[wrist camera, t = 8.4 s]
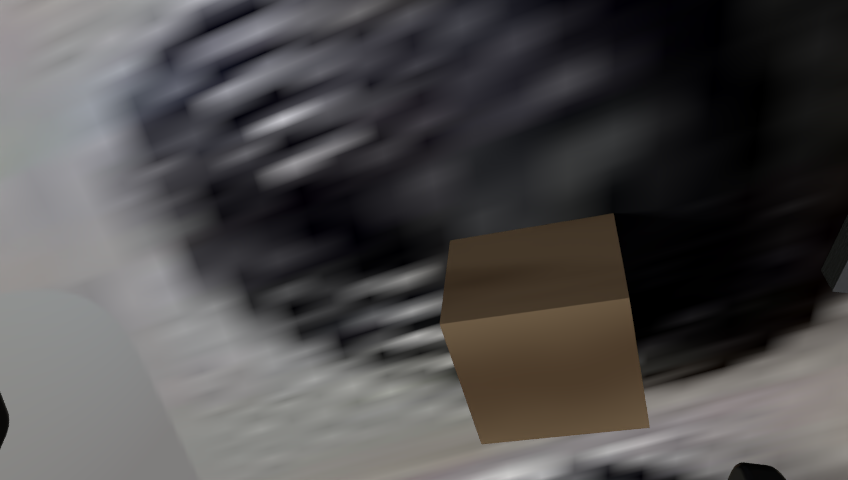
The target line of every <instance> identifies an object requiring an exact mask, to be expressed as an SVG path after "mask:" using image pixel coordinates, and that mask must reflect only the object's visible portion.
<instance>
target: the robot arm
mask: <svg viewBox="0 0 848 480" xmlns="http://www.w3.org/2000/svg"><path fill="white" fill-rule="evenodd" d="M8 427H9V414H8V411H7V408H6V406H5V403H4V400H3V398H2V395H1V393H0V448H1V446H2V444H3V441H4V439H5V437H6V434H7V431H8ZM728 480H786V479H785V478H784V476H783V475H782V474H781V473H780V472H779V471H778V470H776V469H775V468H773V467H771V466H768V465H760V464H752V463H739V464H737V465H736V466H735V467H734V468H733V470H732V472H731V474H730V476H729V478H728Z"/></svg>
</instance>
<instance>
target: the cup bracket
mask: <svg viewBox="0 0 848 480" xmlns="http://www.w3.org/2000/svg"><path fill="white" fill-rule="evenodd" d="M821 271H822V273H823V275H824V276H825V278H826V280H827V282H828V284H829V286H830V288H831V290H832V291H834V292H843V293H848V215H847V217H846V220H845V222H844V224H843V226H842V228H841V230H840V232H839V234H838V236H837V238H836V240H835V242H834V244H833V246H832V249H831V251H830V253H829V255H828V257H827V259H826V261H825V263H824V265H823V267H822V269H821Z"/></svg>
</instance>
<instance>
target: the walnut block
mask: <svg viewBox="0 0 848 480" xmlns="http://www.w3.org/2000/svg"><path fill="white" fill-rule="evenodd" d="M440 326H441V329H442V332H443V335H444V338H445V341H446V343H447V346H448V349H449V352H450V355H451V358H452V361H453V364H454V366H455V369H456V372H457V375H458V378H459V381H460V384H461V387H462V389H463V392H464V395H465V398H466V401H467V404H468V407H469V410H470V412H471V415H472V418H473V421H474V424H475V427H476V430H477V433H478V435H479V438H480V441H481V444H489V443H499V442H509V441H519V440H529V439H539V438H550V437H560V436H570V435H580V434H590V433H600V432H610V431H621V430H631V429H641V428H650V427H649V420H648V414H647V407H646V401H645V395H644V388H643V382H642V376H641V369H640V363H639V357H638V350H637V344H636V337H635V331H634V325H633V318H632V312H631V306H630V299H629V294H628V288H627V283H626V277H625V272H624V267H623V261H622V256H621V250H620V245H619V240H618V234H617V229H616V223H615V218H614V213H613V214H607V215H601V216H595V217H589V218H583V219H577V220H571V221H565V222H559V223H553V224H547V225H541V226H535V227H529V228H523V229H517V230H511V231H505V232H499V233H493V234H487V235H481V236H475V237H469V238H463V239H457V240H451V241H450V246H449V254H448V262H447V270H446V278H445V286H444V294H443V303H442V311H441V319H440Z"/></svg>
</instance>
